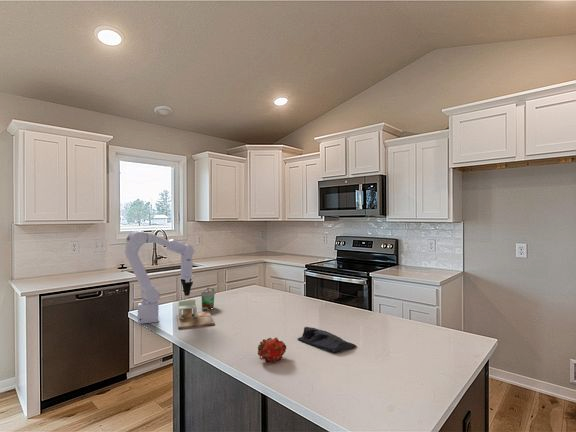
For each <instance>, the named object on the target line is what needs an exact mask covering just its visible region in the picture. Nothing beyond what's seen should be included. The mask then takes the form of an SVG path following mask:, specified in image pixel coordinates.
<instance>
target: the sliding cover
mask: <svg viewBox="0 0 576 432" xmlns="http://www.w3.org/2000/svg"><path fill="white" fill-rule="evenodd" d="M197 308H198V307H197V304H196V299H188V300H187V299H185V300H178V315H179V319H183V317H182V314H183V309H192V313H193V314H194V317H197V313H198V312H197V310H198V309H197ZM194 317H193V318H194Z"/></svg>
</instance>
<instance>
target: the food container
mask: <svg viewBox="0 0 576 432" xmlns="http://www.w3.org/2000/svg"><path fill="white" fill-rule="evenodd" d="M215 289H216V288H211V287H207V288H206V290H204V291H202V292H200V293H201V294H200V295H201V311H202V310H204V311H208V310H207V309H211V308H213V307H214V305H215V295H216V293H217V292H216V290H215ZM213 309H214V308H213ZM211 310H212V309H211Z"/></svg>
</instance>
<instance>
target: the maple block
mask: <svg viewBox="0 0 576 432" xmlns="http://www.w3.org/2000/svg"><path fill="white" fill-rule="evenodd" d="M192 313H193V309H183V310H182V314H183V317H182V319H185V318H193V316H192Z"/></svg>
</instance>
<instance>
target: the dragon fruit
mask: <svg viewBox="0 0 576 432" xmlns="http://www.w3.org/2000/svg"><path fill="white" fill-rule="evenodd" d="M286 351H287V345H286V344H285V342H284V341H282V340H279V338H278V337H274V338H273V339H272V337H269V338H267V339H266V338H265V339H264V338H263V339H262V341H260V342H259V344H258V346H257V355H258V356H259V360H262V361H263V360H264V361H265V362H266V363H268V362H272V363H274V364H275V363H276V361H280V360H282V359H283V355H284V354H285V353H286Z"/></svg>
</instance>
